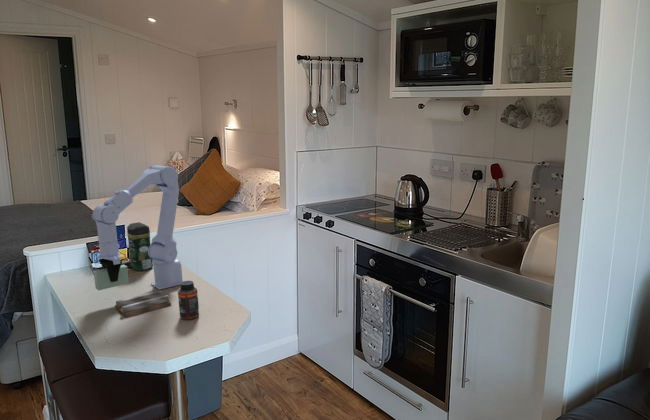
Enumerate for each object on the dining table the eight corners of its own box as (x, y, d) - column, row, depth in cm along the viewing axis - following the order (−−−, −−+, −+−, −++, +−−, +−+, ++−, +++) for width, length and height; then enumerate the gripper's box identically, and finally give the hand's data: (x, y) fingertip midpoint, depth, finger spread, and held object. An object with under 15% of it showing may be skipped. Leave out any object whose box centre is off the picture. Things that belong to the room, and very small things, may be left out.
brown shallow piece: (159, 296, 182) (158, 289, 182) (171, 305, 175) (170, 297, 174) (115, 308, 173) (114, 300, 173) (125, 317, 166) (124, 309, 165)
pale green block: (125, 281, 181) (124, 264, 179) (128, 283, 178) (127, 266, 177) (95, 288, 174) (93, 270, 173) (98, 290, 172) (96, 273, 171)
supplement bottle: (203, 314, 167) (200, 280, 165) (192, 321, 162) (190, 286, 159) (186, 311, 169) (184, 278, 167) (176, 319, 164) (173, 284, 161)
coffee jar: (128, 266, 216) (124, 223, 212) (147, 263, 220) (143, 220, 216) (135, 272, 208) (131, 227, 204) (155, 268, 213) (151, 224, 209)
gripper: (88, 238, 176) (93, 277, 179) (102, 247, 165) (107, 288, 168) (110, 235, 181) (114, 272, 184) (125, 243, 170) (129, 283, 173)
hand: (112, 280), depth 176 cm, fingers closed on pale green block, 3 cm apart
